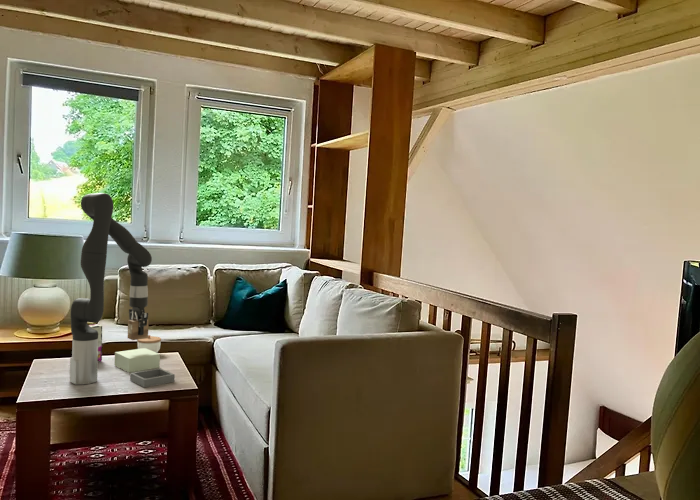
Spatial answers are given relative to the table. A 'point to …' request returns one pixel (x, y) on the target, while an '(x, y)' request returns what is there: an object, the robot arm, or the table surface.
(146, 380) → the charcoal bin
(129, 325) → the walnut parts box
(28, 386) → the table surface
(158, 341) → the lidded jar
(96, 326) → the candy bar box
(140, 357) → the block
